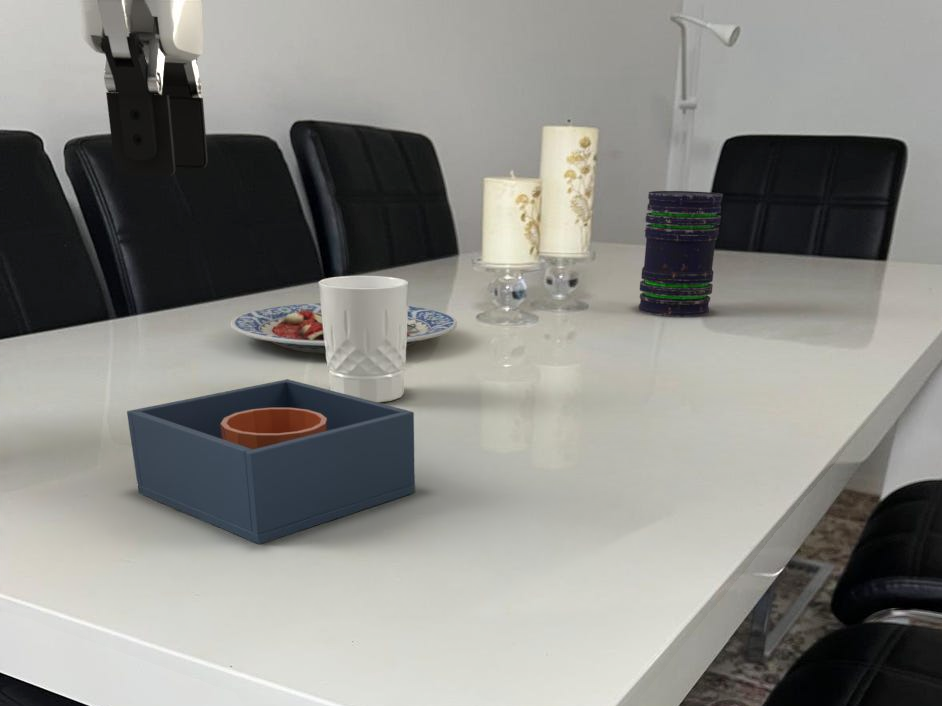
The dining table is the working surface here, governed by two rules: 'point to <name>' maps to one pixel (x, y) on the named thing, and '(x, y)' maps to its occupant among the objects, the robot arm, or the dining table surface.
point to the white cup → (365, 335)
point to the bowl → (271, 426)
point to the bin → (273, 460)
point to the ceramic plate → (305, 327)
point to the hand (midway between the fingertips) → (165, 170)
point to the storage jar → (679, 253)
